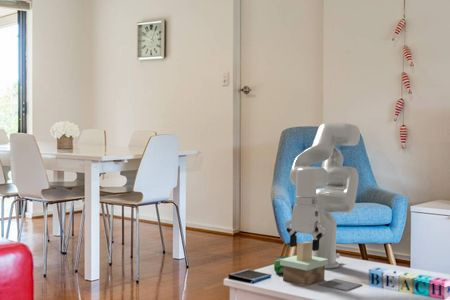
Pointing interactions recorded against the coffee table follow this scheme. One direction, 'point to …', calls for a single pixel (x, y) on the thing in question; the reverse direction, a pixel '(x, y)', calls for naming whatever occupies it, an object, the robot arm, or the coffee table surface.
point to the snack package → (277, 266)
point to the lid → (304, 258)
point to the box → (303, 275)
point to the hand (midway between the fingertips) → (304, 248)
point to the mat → (340, 284)
